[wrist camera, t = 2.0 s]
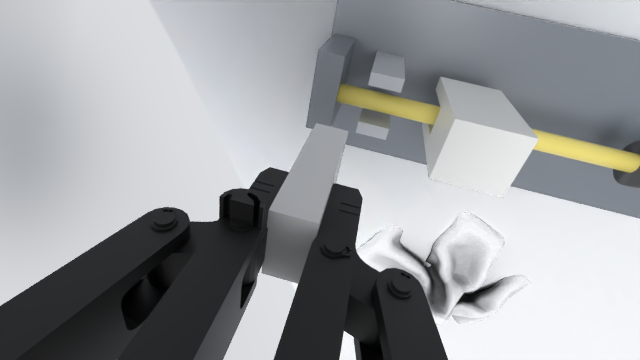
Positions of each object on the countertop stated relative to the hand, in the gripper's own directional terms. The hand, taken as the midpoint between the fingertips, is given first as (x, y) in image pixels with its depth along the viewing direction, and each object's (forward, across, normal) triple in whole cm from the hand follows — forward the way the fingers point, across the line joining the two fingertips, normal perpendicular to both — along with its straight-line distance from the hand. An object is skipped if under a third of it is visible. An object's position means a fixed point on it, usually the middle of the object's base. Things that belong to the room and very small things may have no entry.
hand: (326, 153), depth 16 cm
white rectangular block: (+10, +7, 0) cm, 13 cm away
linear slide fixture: (+14, +12, 0) cm, 18 cm away
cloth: (+15, +15, -20) cm, 28 cm away
